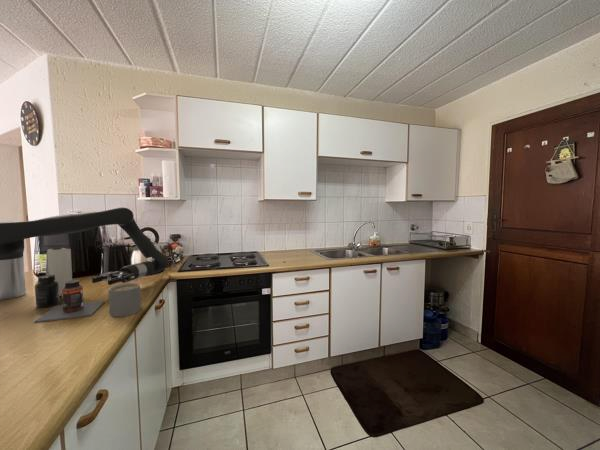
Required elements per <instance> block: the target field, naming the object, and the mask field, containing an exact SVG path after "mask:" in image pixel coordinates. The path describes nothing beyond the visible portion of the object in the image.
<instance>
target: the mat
mask: <svg viewBox="0 0 600 450" xmlns="http://www.w3.org/2000/svg"><path fill="white" fill-rule="evenodd" d="M83 303H84V307H83V308H82V309H80V310H78V311H74V312H64V311H63V304H60V305H58V304H57V305H54V306H52V308H50V309H49V310H47V311H46V312H45V313H43V314H42V315H41V316H40V317H38V318H37V319H35V320H34V324H35V323H43V322H52V321H53V322H54V321H60V320H68V319H77V318H85V317H92V316H93V315H94V314H95V313H96V312H97V311H98V310H99V308H100V307H102V305H104V304H105V300H99V301H96V300H95V301H89V302H83Z"/></svg>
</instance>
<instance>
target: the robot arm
mask: <svg viewBox="0 0 600 450" xmlns="http://www.w3.org/2000/svg"><path fill="white" fill-rule="evenodd" d="M110 225H111V226H112V225H117V226H119V227H120V229H122V230H123V231H124V232H125V233H126V234H127V235H128V237H129V238H130V239H131V240H132V242H133V243H134V245H135V247H136V248H137V249H138V250H139V252H140V253H141V254H142V256H143V257H144V258H145V259H149V258H152V259H153V260H152V261H150V260H148V261H143V262H138V263H133V264H128V265H125V266H122V267H121V268H120V269H119V270H118V271H107V272H104V273H99V274H98V276H96V277H92V279H91V283H92V284H96V283H99V282H103V281H107V285H109V286H111V285H114V284H115V285H116V284H123V283H130V282H132V281H135V280H138V279H140V278H142V277H145V276H148V275H151V274H157V273H159V272H161V271H163V270H165V269H166V268H168V267H169V266H170V260H169V258H168V256H167V255H165V254H163V252H161V251H160V250H159V249H157V247H156V246H155V244H154V243H153V242H152V241H151V240H150V239H149V237H148V236H147V235H146V234H145V233H144V232H143V231H142V230H141V228H140V227H139V226H138V224H137V222H136V219H135V218H134V213H133V211H132V210H131V209H130V208H128V207H116V208H112V209H111V208H110V209H107V210H100V211H88V212H77V213H74V212H73V213H67V214H60V215H59V214H58V215H54V216H48V217H44V218H39V219H35V220H25V221H10V220H7V221H0V301H1V300H9V299H14V298H20V297H22V296H24V295H26V294H27V287H26V274H25V273H26V272H25V258H24V251H25V240H27V239H32V238H36V237H37V238H39V237H47V236H61V235H68V234H75V233H76V234H77V233H80V232H84V231H88V230H92V229H96V228H98V227H103V226H110Z"/></svg>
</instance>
